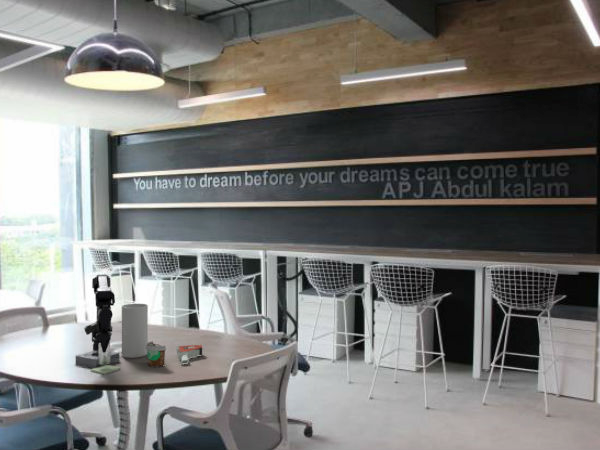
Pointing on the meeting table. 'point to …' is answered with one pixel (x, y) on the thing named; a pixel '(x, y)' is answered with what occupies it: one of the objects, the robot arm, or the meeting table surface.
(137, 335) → the cylinder vase
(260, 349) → the meeting table surface
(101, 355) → the silver upright cylinder
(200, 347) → the grey and red box
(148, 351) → the food container
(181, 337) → the meeting table surface
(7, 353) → the meeting table surface
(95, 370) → the mat
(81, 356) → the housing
